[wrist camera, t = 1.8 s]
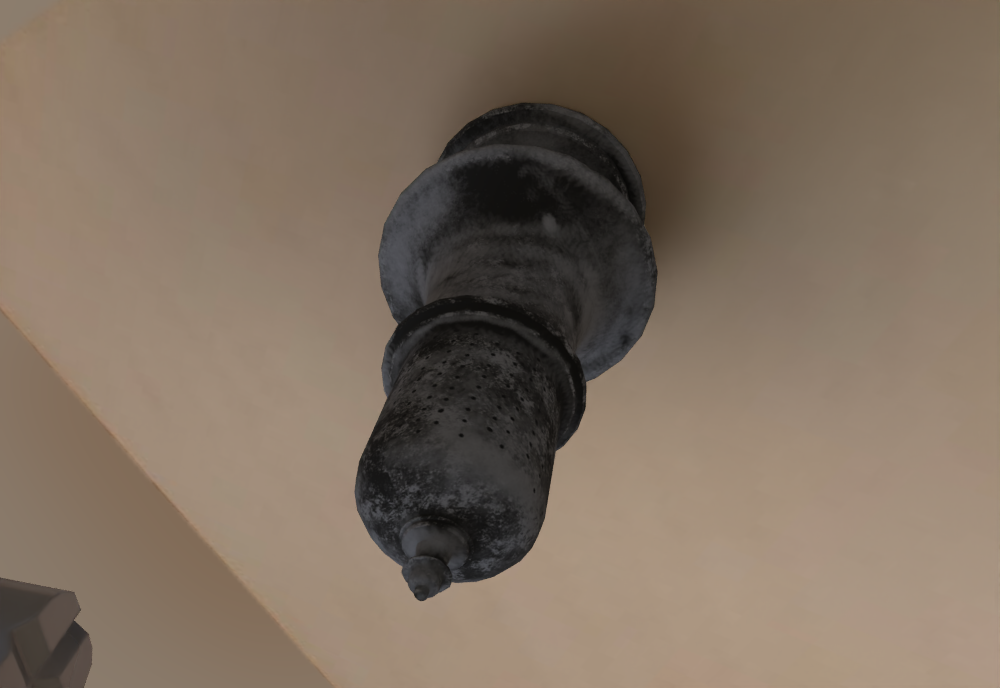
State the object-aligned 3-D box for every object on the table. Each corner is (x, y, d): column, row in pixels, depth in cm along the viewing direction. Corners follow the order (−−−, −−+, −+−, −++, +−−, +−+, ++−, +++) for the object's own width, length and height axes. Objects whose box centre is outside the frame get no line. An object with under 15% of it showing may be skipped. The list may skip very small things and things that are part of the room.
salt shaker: (514, 349, 23) (402, 772, 13) (369, 180, 21) (111, 533, 11) (706, 240, 21) (743, 667, 11) (562, 35, 19) (446, 331, 9)
